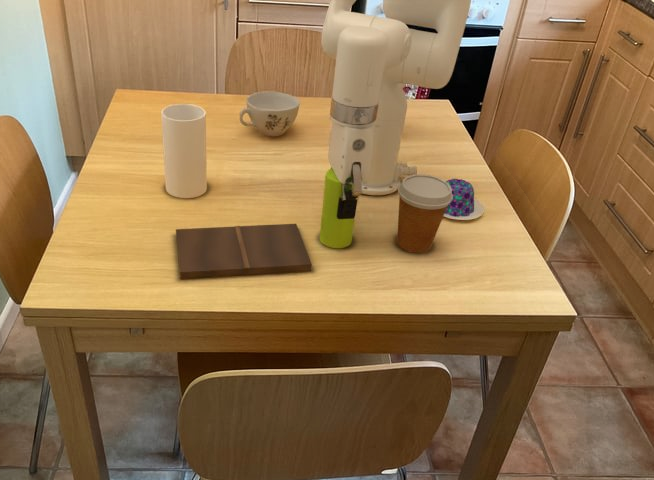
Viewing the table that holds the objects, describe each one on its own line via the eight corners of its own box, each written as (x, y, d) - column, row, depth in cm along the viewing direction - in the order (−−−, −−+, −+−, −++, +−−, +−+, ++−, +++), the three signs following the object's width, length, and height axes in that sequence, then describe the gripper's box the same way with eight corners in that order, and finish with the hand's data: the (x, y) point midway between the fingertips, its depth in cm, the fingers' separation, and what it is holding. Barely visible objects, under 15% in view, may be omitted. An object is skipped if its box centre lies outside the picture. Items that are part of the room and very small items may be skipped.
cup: (199, 201, 123) (197, 123, 113) (159, 194, 124) (154, 117, 114) (211, 182, 129) (211, 107, 120) (173, 176, 130) (170, 101, 121)
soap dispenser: (358, 233, 117) (371, 132, 105) (344, 251, 112) (357, 146, 100) (328, 225, 119) (339, 124, 107) (314, 242, 114) (323, 138, 102)
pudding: (423, 218, 123) (429, 194, 120) (423, 189, 133) (428, 167, 130) (485, 227, 122) (492, 203, 119) (481, 197, 132) (487, 175, 129)
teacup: (282, 118, 158) (284, 87, 153) (307, 138, 150) (310, 105, 145) (227, 126, 152) (228, 94, 147) (250, 148, 143) (251, 114, 138)
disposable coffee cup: (428, 264, 111) (442, 205, 103) (379, 246, 114) (390, 187, 107) (447, 241, 117) (462, 183, 110) (400, 224, 121) (412, 167, 114)
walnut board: (295, 230, 117) (296, 223, 116) (311, 271, 107) (311, 263, 106) (176, 236, 113) (175, 228, 112) (180, 279, 103) (180, 271, 102)
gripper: (393, 132, 94) (375, 233, 105) (361, 90, 108) (347, 184, 119) (345, 132, 93) (332, 235, 104) (318, 90, 106) (309, 185, 117)
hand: (340, 207), depth 111 cm, fingers closed on soap dispenser, 6 cm apart
